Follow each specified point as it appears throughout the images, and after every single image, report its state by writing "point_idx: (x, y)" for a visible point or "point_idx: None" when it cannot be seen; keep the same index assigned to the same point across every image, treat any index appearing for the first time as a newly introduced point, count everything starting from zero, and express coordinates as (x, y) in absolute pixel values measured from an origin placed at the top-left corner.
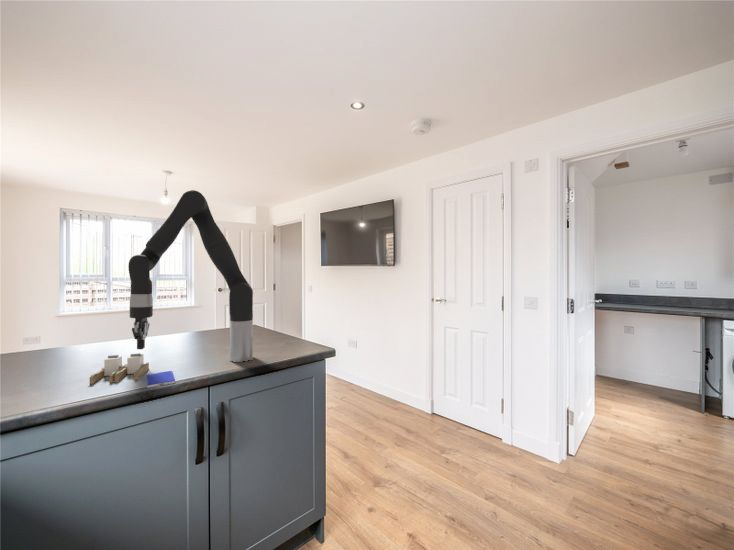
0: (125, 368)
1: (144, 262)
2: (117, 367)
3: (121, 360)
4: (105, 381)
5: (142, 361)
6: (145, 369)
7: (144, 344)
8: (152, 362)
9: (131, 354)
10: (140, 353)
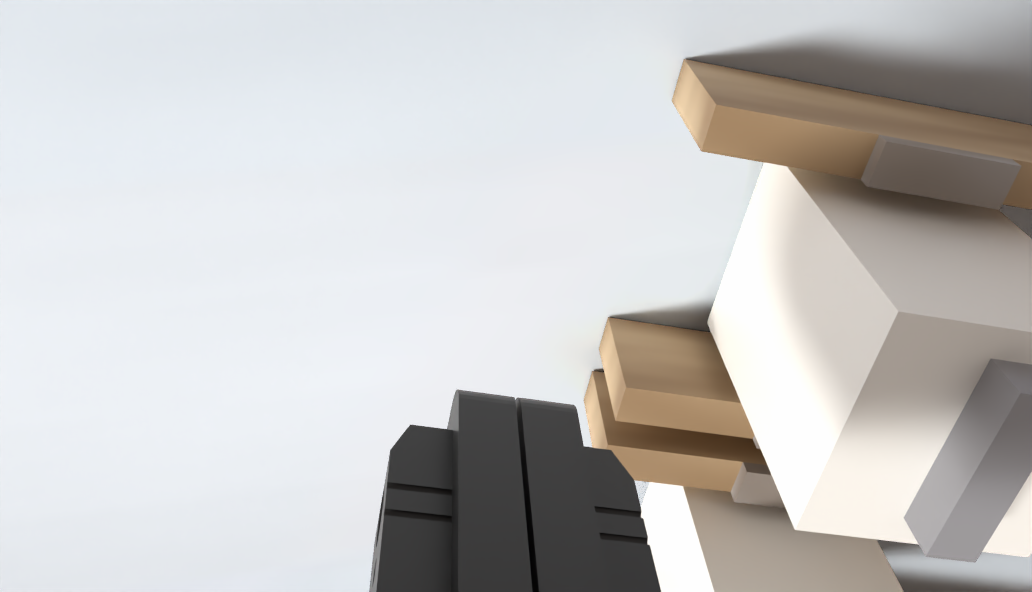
0: None
1: None
2: (875, 543)
3: (730, 583)
4: None
5: (906, 241)
6: (913, 115)
7: (485, 461)
8: (138, 27)
9: (983, 545)
10: (1028, 393)
